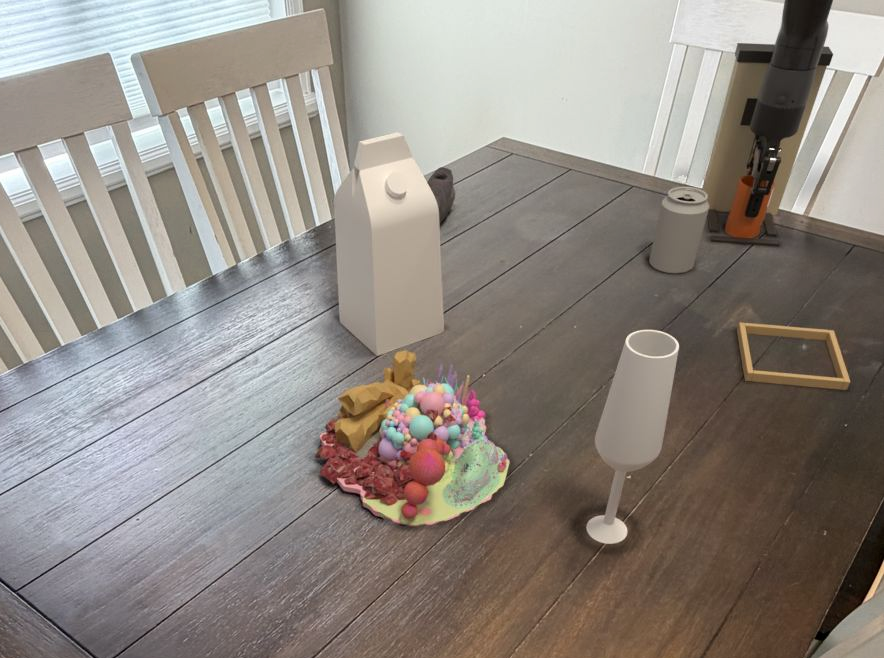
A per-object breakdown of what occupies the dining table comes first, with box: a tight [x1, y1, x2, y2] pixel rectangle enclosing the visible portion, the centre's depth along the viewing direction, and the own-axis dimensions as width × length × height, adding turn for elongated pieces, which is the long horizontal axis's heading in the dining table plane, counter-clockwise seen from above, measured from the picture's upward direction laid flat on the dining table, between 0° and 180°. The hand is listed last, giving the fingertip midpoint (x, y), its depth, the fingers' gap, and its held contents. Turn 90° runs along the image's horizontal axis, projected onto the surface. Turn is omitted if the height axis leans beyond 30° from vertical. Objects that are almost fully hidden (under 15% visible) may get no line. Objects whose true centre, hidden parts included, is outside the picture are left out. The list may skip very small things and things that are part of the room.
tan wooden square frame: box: [736, 321, 851, 391], centre depth 105 cm, size 14×14×2 cm
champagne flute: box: [586, 329, 680, 545], centre depth 75 cm, size 7×7×24 cm
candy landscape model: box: [314, 349, 511, 527], centre depth 90 cm, size 25×24×9 cm
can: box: [648, 186, 709, 274], centre depth 121 cm, size 8×8×12 cm
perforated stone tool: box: [426, 166, 456, 225], centre depth 135 cm, size 15×5×7 cm, turn 164°
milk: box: [333, 132, 445, 357], centre depth 103 cm, size 12×12×26 cm
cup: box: [724, 175, 775, 238], centre depth 130 cm, size 6×6×9 cm
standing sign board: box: [701, 42, 834, 248], centre depth 125 cm, size 15×18×26 cm
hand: (748, 208), depth 130 cm, fingers closed on cup, 6 cm apart
